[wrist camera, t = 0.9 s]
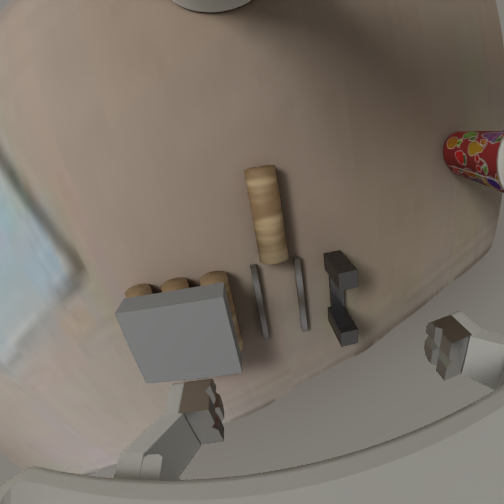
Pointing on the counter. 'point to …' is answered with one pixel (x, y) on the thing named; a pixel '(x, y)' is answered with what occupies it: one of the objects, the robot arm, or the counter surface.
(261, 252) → the roller
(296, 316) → the counter surface
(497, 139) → the smoothie
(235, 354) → the slab
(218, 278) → the roller bed
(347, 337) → the posts
